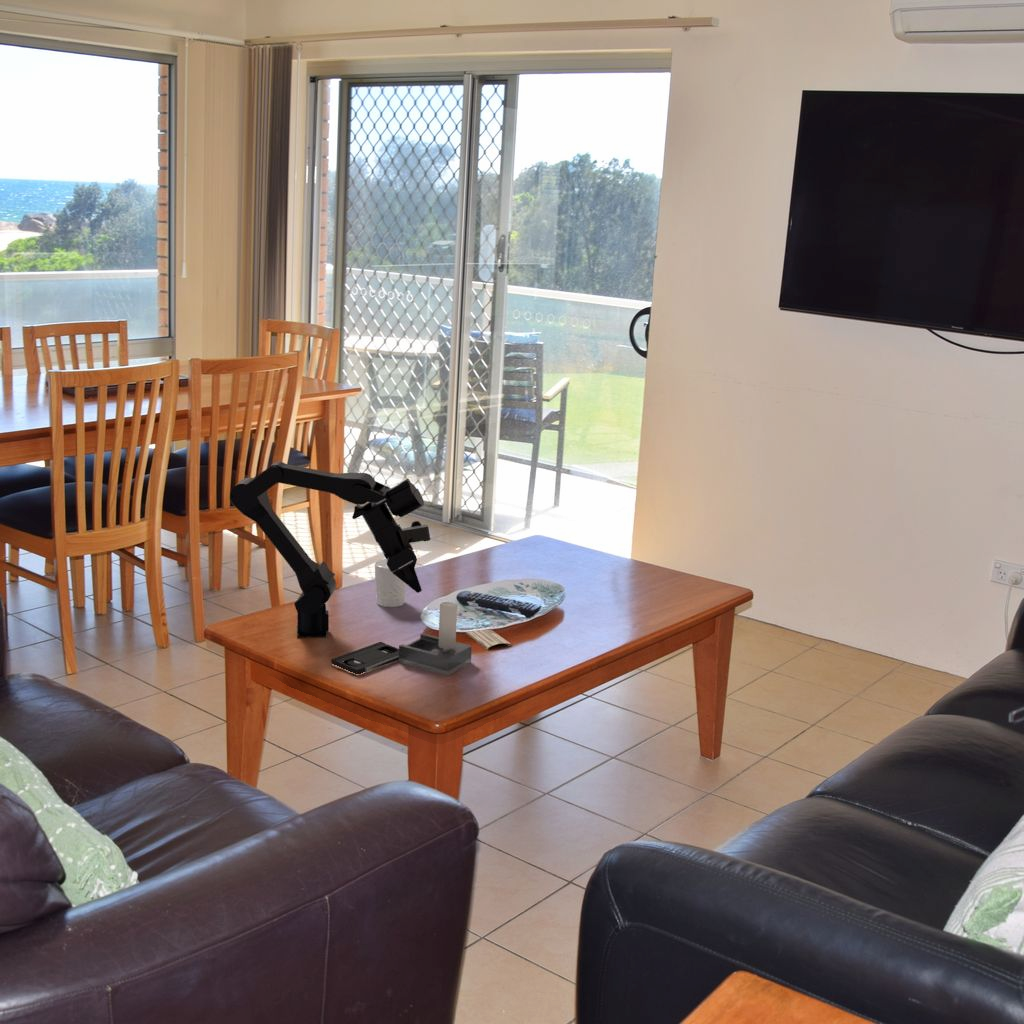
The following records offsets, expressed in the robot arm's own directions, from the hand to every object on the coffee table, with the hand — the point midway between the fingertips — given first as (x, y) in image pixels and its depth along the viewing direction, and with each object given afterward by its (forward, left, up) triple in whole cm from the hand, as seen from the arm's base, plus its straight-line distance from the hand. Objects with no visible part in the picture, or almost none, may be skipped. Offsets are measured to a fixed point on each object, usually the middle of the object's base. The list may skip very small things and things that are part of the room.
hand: (418, 588), depth 261 cm
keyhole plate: (+2, -12, -12) cm, 18 cm away
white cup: (-4, +26, -12) cm, 29 cm away
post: (+5, -14, -11) cm, 19 cm away
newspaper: (+14, +6, -13) cm, 21 cm away
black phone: (-11, -11, -13) cm, 20 cm away
